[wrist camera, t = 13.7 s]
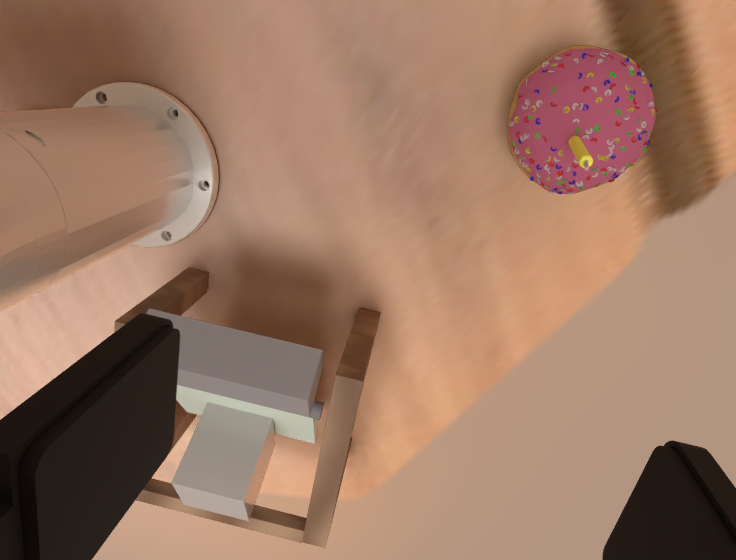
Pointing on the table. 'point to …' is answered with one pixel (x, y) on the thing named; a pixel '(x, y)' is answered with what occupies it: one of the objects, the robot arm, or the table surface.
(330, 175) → the table surface
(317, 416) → the trapdoor
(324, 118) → the table surface
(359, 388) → the stand
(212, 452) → the stone
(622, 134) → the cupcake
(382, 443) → the table surface
